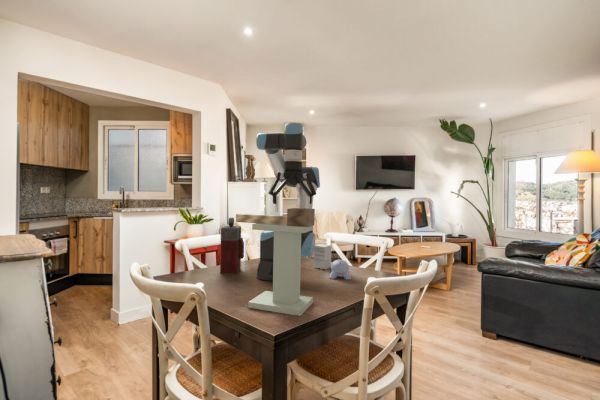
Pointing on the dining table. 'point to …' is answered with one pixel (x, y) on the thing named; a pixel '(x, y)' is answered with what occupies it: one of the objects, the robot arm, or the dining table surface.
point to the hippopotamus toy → (340, 269)
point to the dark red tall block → (231, 248)
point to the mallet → (282, 218)
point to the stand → (284, 272)
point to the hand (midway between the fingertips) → (292, 211)
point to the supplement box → (322, 256)
